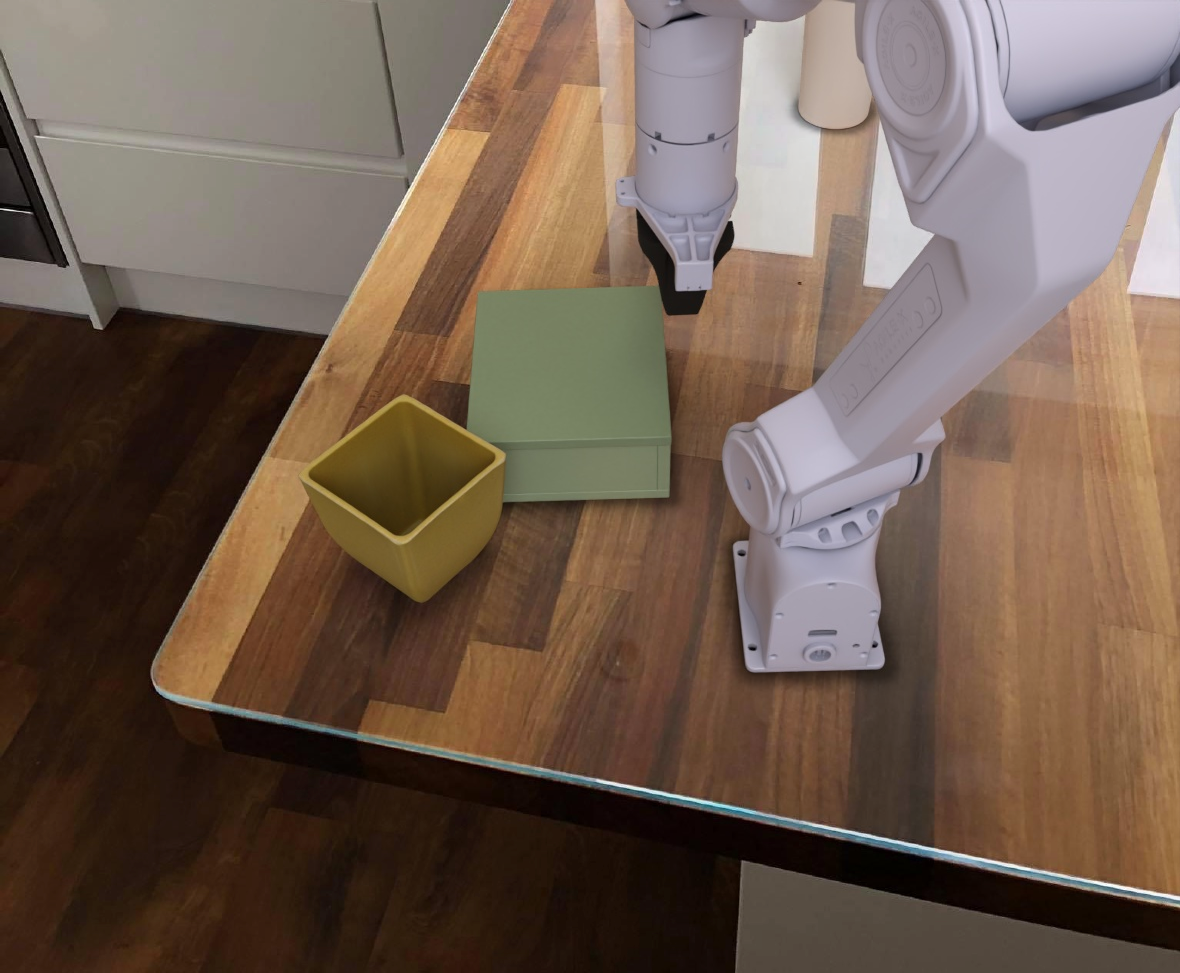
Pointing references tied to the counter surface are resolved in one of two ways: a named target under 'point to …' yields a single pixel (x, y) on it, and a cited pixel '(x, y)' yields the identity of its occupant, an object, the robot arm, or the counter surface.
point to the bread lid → (569, 369)
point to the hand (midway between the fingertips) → (681, 308)
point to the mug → (832, 69)
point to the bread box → (587, 473)
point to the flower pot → (409, 495)
